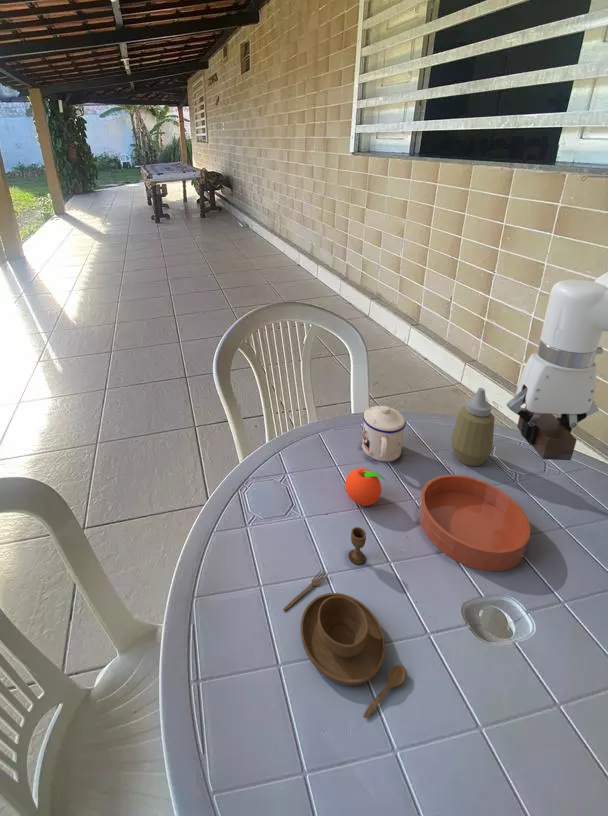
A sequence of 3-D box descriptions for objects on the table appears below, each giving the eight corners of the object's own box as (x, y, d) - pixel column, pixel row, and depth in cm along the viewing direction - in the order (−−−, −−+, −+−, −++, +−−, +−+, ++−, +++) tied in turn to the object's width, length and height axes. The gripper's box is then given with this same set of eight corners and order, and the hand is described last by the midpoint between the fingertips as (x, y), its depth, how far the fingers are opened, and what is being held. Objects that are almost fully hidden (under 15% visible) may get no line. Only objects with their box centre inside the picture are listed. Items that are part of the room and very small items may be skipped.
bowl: (498, 494, 85) (502, 477, 84) (545, 576, 69) (552, 556, 68) (408, 489, 88) (410, 472, 86) (434, 566, 72) (438, 547, 70)
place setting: (270, 616, 66) (269, 591, 64) (352, 545, 77) (354, 521, 74) (364, 733, 53) (367, 705, 50) (448, 627, 63) (454, 600, 61)
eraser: (542, 427, 82) (546, 408, 80) (571, 460, 74) (577, 439, 72) (516, 427, 83) (521, 407, 81) (542, 459, 74) (548, 438, 73)
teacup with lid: (361, 434, 105) (363, 394, 100) (400, 439, 102) (405, 399, 98) (360, 468, 94) (363, 425, 90) (404, 475, 91) (410, 431, 87)
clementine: (379, 486, 89) (381, 459, 86) (390, 513, 82) (393, 485, 80) (340, 486, 89) (342, 460, 87) (348, 514, 83) (350, 486, 80)
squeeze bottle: (443, 444, 99) (454, 378, 93) (480, 446, 98) (493, 379, 92) (455, 469, 92) (468, 399, 85) (496, 471, 91) (511, 401, 84)
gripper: (605, 342, 74) (580, 428, 80) (500, 342, 76) (484, 426, 83) (639, 364, 67) (608, 456, 73) (522, 363, 69) (503, 452, 76)
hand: (543, 439), depth 78 cm, fingers closed on eraser, 4 cm apart
